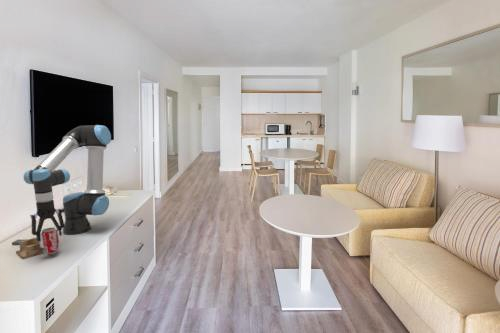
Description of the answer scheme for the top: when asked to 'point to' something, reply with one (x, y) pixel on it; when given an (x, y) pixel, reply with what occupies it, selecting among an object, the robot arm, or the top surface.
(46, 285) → the top surface
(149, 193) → the top surface
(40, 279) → the top surface
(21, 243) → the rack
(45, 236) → the soda can
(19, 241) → the remote
